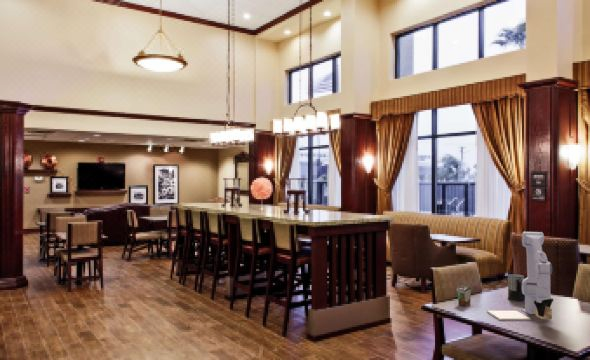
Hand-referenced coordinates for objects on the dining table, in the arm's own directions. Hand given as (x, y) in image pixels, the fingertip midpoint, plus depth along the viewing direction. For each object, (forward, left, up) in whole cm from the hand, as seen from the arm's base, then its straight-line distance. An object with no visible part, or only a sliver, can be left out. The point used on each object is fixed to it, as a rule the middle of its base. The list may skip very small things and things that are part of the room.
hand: (543, 314), depth 212 cm
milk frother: (-15, -46, -6) cm, 49 cm away
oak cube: (0, 0, -2) cm, 2 cm away
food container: (+25, -38, -6) cm, 46 cm away
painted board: (+10, -15, -5) cm, 19 cm away
